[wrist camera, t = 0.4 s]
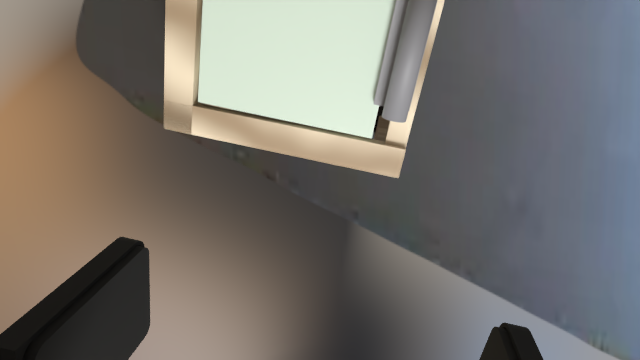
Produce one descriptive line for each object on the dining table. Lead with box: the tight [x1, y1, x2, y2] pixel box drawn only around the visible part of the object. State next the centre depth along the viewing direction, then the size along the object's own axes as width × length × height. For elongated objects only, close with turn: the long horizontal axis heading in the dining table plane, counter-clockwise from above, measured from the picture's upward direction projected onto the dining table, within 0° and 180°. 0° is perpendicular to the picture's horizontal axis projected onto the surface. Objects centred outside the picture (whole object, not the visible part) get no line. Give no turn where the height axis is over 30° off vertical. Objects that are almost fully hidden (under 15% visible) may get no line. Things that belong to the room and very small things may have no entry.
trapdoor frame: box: [164, 0, 445, 178], centre depth 31 cm, size 18×18×10 cm
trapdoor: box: [198, 0, 438, 139], centre depth 26 cm, size 13×15×3 cm
